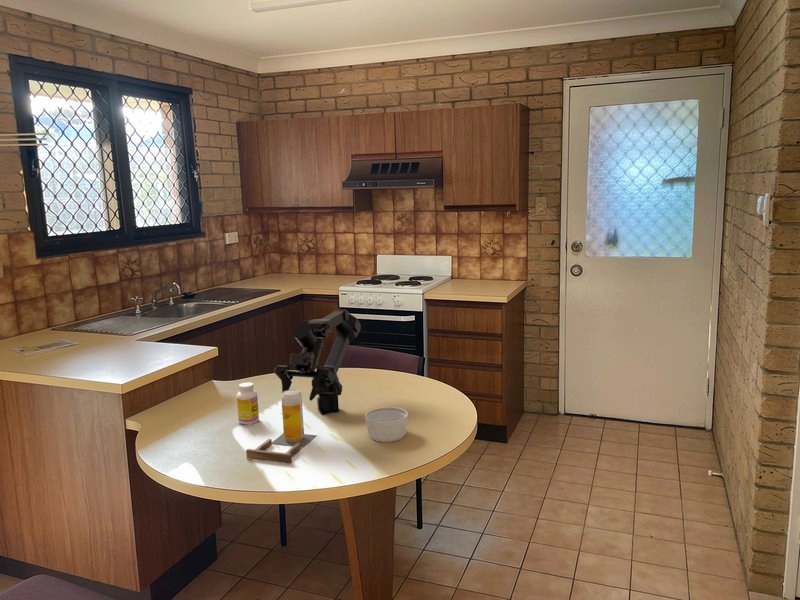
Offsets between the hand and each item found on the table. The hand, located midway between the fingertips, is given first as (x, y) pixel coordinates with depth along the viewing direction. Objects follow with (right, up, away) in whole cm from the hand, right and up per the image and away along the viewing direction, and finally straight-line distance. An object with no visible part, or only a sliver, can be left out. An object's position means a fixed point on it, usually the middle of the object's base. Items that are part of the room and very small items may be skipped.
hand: (296, 399), depth 196 cm
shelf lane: (-4, -14, -10) cm, 18 cm away
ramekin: (+28, -12, 0) cm, 30 cm away
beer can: (-1, -12, -1) cm, 12 cm away
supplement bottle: (-19, -10, +16) cm, 26 cm away
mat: (-1, -12, -1) cm, 12 cm away
